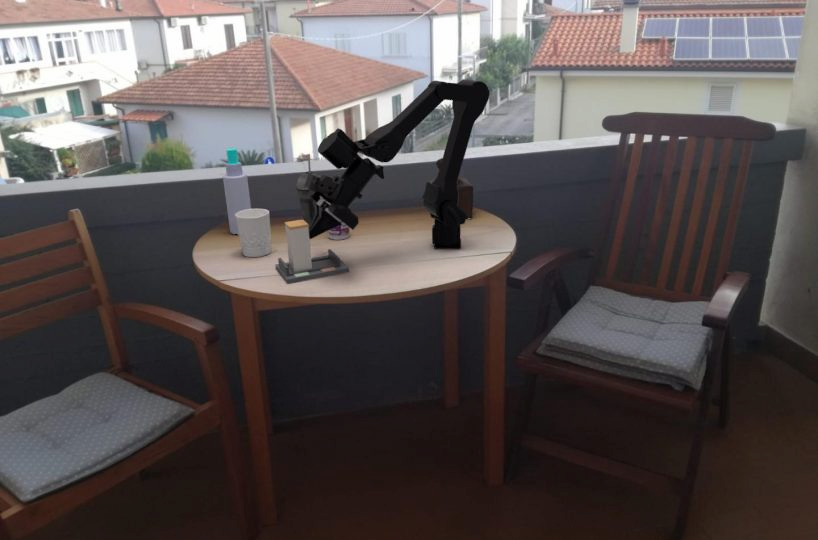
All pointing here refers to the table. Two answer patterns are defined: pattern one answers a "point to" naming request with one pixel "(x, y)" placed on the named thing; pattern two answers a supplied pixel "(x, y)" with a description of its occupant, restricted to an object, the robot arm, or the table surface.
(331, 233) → the pill bottle
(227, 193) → the spray bottle
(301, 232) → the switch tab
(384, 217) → the table surface
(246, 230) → the white cup
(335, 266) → the switch board
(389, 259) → the table surface
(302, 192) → the beverage cup
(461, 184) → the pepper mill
